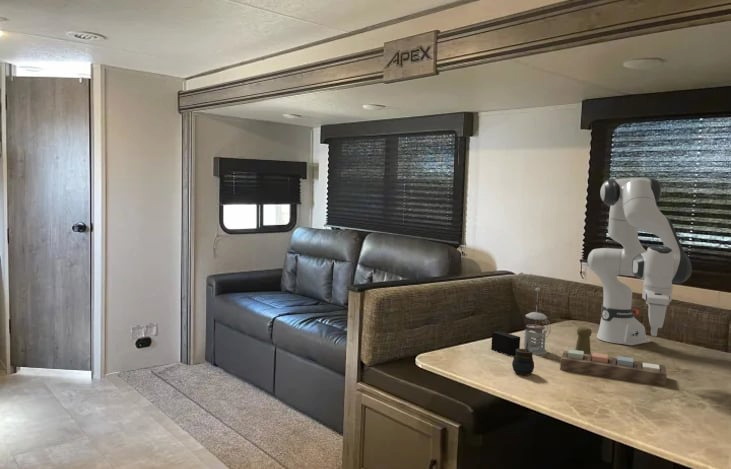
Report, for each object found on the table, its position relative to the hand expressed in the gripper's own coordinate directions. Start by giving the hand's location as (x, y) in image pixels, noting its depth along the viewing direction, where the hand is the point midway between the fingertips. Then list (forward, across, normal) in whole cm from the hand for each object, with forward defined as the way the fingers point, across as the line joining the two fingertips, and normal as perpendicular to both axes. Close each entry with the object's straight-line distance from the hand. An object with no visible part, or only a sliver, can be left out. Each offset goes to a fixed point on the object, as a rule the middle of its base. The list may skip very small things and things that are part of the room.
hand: (653, 335), depth 194 cm
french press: (+16, -14, -40) cm, 45 cm away
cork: (+16, -17, -23) cm, 33 cm away
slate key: (+12, 0, -8) cm, 14 cm away
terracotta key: (+12, 0, -16) cm, 20 cm away
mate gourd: (+15, +17, -40) cm, 46 cm away
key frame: (+15, 0, -12) cm, 19 cm away
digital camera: (+16, -7, -50) cm, 52 cm away
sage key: (+12, 0, -24) cm, 27 cm away
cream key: (+13, 0, 0) cm, 13 cm away
